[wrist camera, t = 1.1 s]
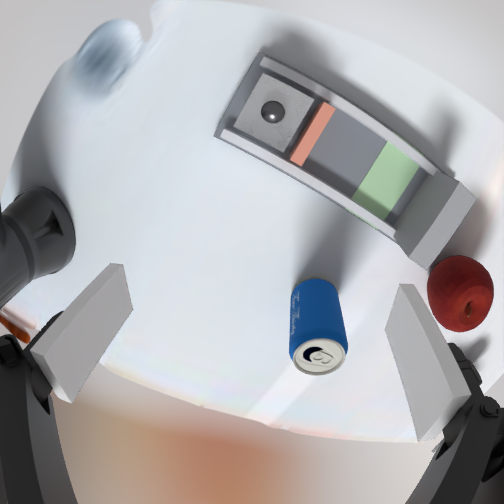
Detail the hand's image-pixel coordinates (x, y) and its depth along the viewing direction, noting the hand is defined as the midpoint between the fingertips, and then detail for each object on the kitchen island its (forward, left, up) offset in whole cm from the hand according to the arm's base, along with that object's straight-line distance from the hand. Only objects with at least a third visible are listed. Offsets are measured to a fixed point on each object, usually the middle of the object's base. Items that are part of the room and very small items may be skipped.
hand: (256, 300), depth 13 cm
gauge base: (+5, +7, -23) cm, 25 cm away
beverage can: (+12, -11, -23) cm, 28 cm away
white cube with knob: (-4, +7, -21) cm, 23 cm away
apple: (+27, +2, -23) cm, 36 cm away
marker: (0, +7, -21) cm, 23 cm away
